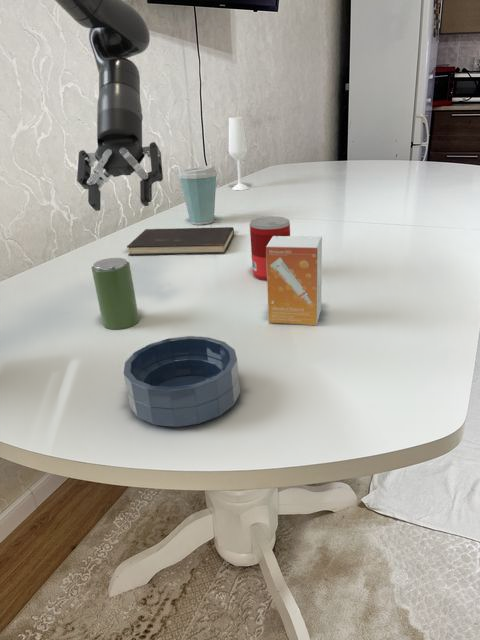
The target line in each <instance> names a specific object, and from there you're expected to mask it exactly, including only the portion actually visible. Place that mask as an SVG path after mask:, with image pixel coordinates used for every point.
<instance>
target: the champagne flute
mask: <svg viewBox="0 0 480 640" xmlns="http://www.w3.org/2000/svg"><path fill="white" fill-rule="evenodd" d="M228 153H229V155H230V156H231V158H232V159H234V160H235V161H236V167H237V181H238V182H237V184H236V185H234V186H233V187H232V188H231V190H232V191H245V190H249V189H250V187H249V186H247V185H246V184H244V183H243V182H242V167H241V161H242V160H243V159H244V157H246V155H247V153H248V146H247V139H246V132H245V123H244V118H243V116H229V117H228Z"/></svg>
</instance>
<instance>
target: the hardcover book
mask: <svg viewBox="0 0 480 640" xmlns="http://www.w3.org/2000/svg"><path fill="white" fill-rule="evenodd" d="M234 237H235V228H234V226H225V227H224V226H223V227H221V226H219V227H182V228H181V227H180V228H179V227H178V228H176V227H175V228H146V229H145V230H142V232H141V233H139V234H138V236H136V237H135V238H134V239H133V240H132V241H131V242H130V243H129V244H127V246H126V248H127V249H128V251H129V253H128V254H127V256H128V257H134V256H136V257H137V256H142V257H143V256H183V255H184V256H188V255H192V256H193V255H225V254H226V252H227V250H228V248H229V246H230V244H231V242H232V241H233V238H234Z"/></svg>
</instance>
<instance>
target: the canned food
mask: <svg viewBox="0 0 480 640" xmlns="http://www.w3.org/2000/svg"><path fill="white" fill-rule="evenodd" d="M249 236H250V237H249V239H250V250H251V251H250V252H251V266H252V267H251V269H252V274H253V276H254V277H255V278H256V279H257V280H261V281H266V282H267V260H266V246H267V245H268V243H269V242H270V240H271V238H272V237H273V236H291V223H290V219H289V218H286V217H284V216H260V217H255V218H253V219H251V220H250V221H249Z"/></svg>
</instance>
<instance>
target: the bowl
mask: <svg viewBox="0 0 480 640" xmlns="http://www.w3.org/2000/svg"><path fill="white" fill-rule="evenodd" d="M123 377H124V382H125V387H126V393H127V397H128V402H129V408H130V409H131V410H132V412H133V413H134V414H135V416H136V417H137V418H138V419H140V420H143V421H144V422H147V423H148V424H149V423H150V424H152V425H154V426H165V427H174V428H179V427H184V426H193V425H199V424H202V423H204V422H207V421H210V420H213V419H215V418H218V417H220V416H221V415H223V414H224V413H225V412H228V410H229V409H231V408H232V407H233V406H234V405H235V404H236V402H237V400H238V398H239V396H240V394H241V389H240V380H239V379H240V378H239V363H238V357H237V353H236V350H235V348H234V347H232V346H231V345H229V344H228V343H227V342H226V341H223V340H220V339H216V338H212V337H209V336H194V335H187V336H179V337H170V338H165V339H162V340H159V341H155V342H152V343H149V344H147V345H146V346H144V347H141V348H139V349H138V350H136V351H134V352H133V353H132V354H131V355H130V357H129V358H128V359H127V360H125V362H124V367H123Z"/></svg>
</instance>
